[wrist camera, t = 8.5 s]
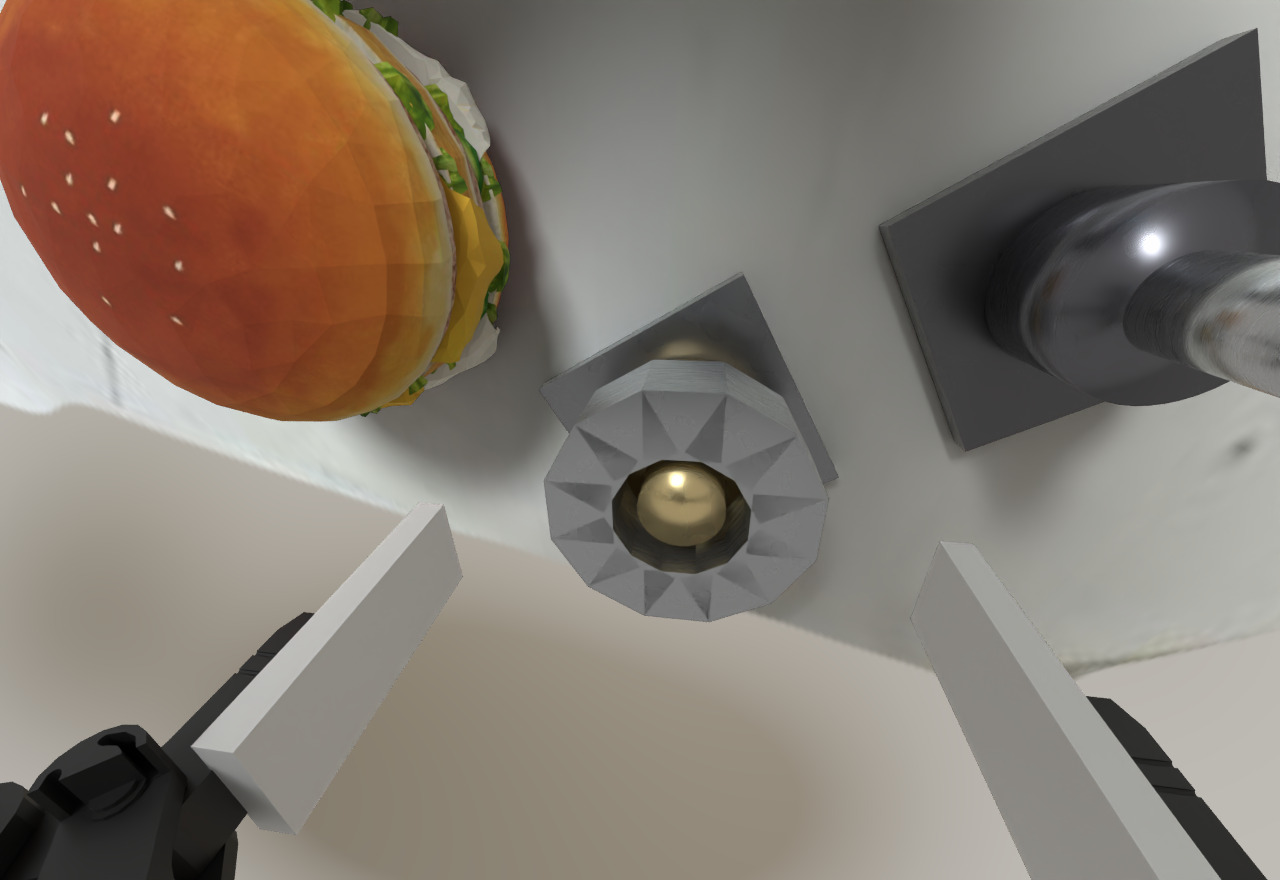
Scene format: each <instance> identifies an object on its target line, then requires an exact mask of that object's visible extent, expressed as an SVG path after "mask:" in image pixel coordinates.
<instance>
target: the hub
mask: <svg viewBox="0 0 1280 880" xmlns="http://www.w3.org/2000/svg"><path fill="white" fill-rule="evenodd" d="M652 360H687V361H722V362H726V363H728V364H729V365H731V366H732V367H734V368H736V369H737V370H739V371H741V372H742V373H744V374H746V375H747V376H749V377H751V378H752V379H754V380H756V381H757V382H759V383H761V384H762V385H764V386H766V387H767V388H769V389H770V390H772V391H774V392H775V393H777V394H779V395H780V396H782V397H783V398H784V400H785V402H786V404H787V406H788V408H789V410H790V412H791V414H792V416H793V418H794V420H795V422H796V424H797V426H798V428H799V431H800V433H801V435H802V437H803V439H804V441H805V443H806V445H807V447H808V449H809V451H810V453H811V456H812V458H813V461H814V463H815V466H816V468H817V471H818V473H819V476H820V478H821V481H822V483H826V482H828V481H831V480H834V479H836V478H839V477H838V474H837V472H836V470H835V468H834V466H833V464H832V462H831V460H830V457H829V455H828V453H827V451H826V449H825V447H824V445H823V443H822V440H821V438H820V436H819V434H818V432H817V430H816V428H815V426H814V423H813V421H812V419H811V417H810V415H809V413H808V411H807V409H806V406H805V404H804V402H803V400H802V398H801V396H800V394H799V392H798V389H797V387H796V385H795V383H794V381H793V379H792V377H791V375H790V372H789V370H788V368H787V366H786V364H785V362H784V360H783V358H782V355H781V353H780V351H779V349H778V347H777V345H776V343H775V341H774V338H773V336H772V334H771V332H770V330H769V328H768V326H767V324H766V321H765V319H764V317H763V315H762V313H761V311H760V309H759V307H758V304H757V302H756V300H755V298H754V296H753V294H752V292H751V290H750V287H749V285H748V283H747V281H746V279H745V277H744V275H743V273H742V272H740V273H738V274H737V275H735V276H733V277H731V278H729V279H728V280H726V281H724V282H722V283H721V284H719V285H717V286H715V287H714V288H712V289H710V290H708V291H706V292H705V293H703V294H701V295H699V296H698V297H696V298H694V299H692V300H690V301H689V302H687V303H685V304H683V305H682V306H680V307H678V308H676V309H675V310H673V311H671V312H669V313H667V314H666V315H664V316H662V317H660V318H659V319H657V320H655V321H653V322H652V323H650V324H648V325H646V326H644V327H643V328H641V329H639V330H637V331H636V332H634V333H632V334H630V335H628V336H627V337H625V338H623V339H621V340H620V341H618V342H616V343H614V344H613V345H611V346H609V347H607V348H605V349H604V350H602V351H600V352H598V353H597V354H595V355H593V356H591V357H589V358H588V359H586V360H584V361H582V362H581V363H579V364H577V365H575V366H574V367H572V368H570V369H568V370H566V371H565V372H563V373H561V374H559V375H558V376H556V377H554V378H552V379H551V380H549V381H547V382H545V384H544V385H543V386H542V387H541V388H540V389H539V391H540V392H541V394H542V395H543V396H544V398H545V399H546V401H547V402H548V404H549V405H550V407H551V408H552V409H553V411H554V412H555V414H556V415H557V417H558V418H559V420H560V421H561V422H562V424H563V425H564V427H565V428H566V430H567V431H568V433H569V434H570V432H571V430H572V429H573V427H574V425H575V423H576V422H577V420H578V419H579V417H580V415H581V414H582V412H583V411H584V409H585V407H586V406H587V404H588V402H589V401H590V399H591V398H592V396H593V394H594V393H595V391H596V390H597V389H599V388H601V387H603V386H605V385H607V384H609V383H610V382H612V381H614V380H616V379H618V378H620V377H622V376H624V375H625V374H627V373H629V372H631V371H633V370H635V369H637V368H639V367H640V366H642V365H644V364H646V363H648V362H650V361H652ZM627 484H628V485H629V487H630V488H631V490H632V491H633V493H634V494H635V496H636V497H637V499H638V502H637V513H638V517H639V519H640V522H641V524H642V525H643V527H644V528H645V529H646V530H647V531H648V532H649V533H650V534H651V535H652V536H653V537H655V538H656V539H658V540H660V541H662V542H664V543H667V544H671V545H676V546H692V545H697V544H700V543H703V542H705V541H707V540H709V539H711V538H712V537H713V536H715V535H716V534H717V533H718V532H719V530H720V529H721V527H722V526H723V524H724V521H725V517H726V510H727V508H728V507H729V506H730V505H731V504H732V502H733V501H734V500H735V499H736V498H737V497H738V495H739V494H740V493H741V491H740V489H739V487H738V486H737V484H736V482H735V481H734V480H732V479H731V478H729V477H727V476H725V475H724V474H722V473H720V472H718V471H717V470H715V469H713V468H711V467H710V466H708V465H706V464H704V463H703V462H695V461H677V460H660V461H658V462H656V463H653V464H651V465H649V466H647V467H644V468H642V469H640V470H638V471H636V472H633V473H631V474H629V475H628V477H627Z"/></svg>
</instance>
